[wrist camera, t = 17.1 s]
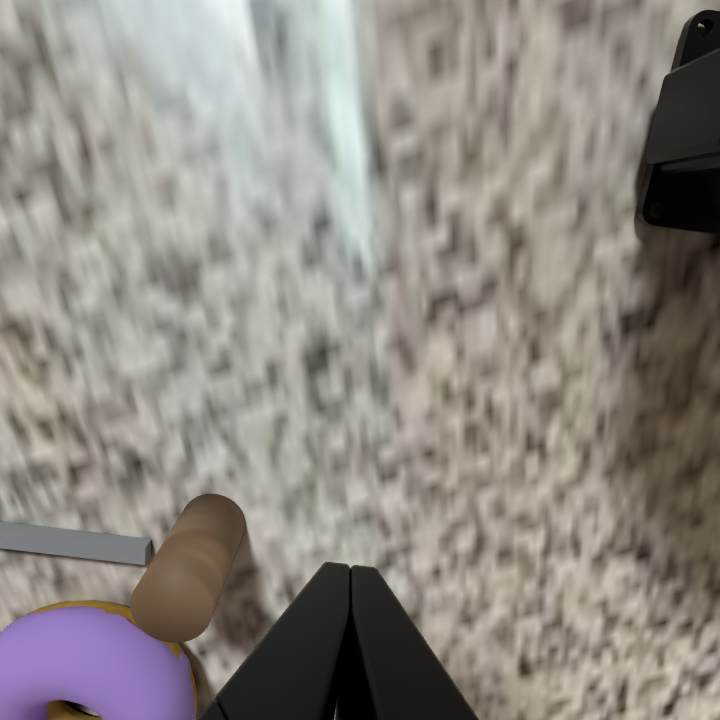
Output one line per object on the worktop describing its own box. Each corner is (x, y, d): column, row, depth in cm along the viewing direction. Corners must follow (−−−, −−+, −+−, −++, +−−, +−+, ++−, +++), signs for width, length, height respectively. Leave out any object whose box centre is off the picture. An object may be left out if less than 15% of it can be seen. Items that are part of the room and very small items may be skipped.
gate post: (247, 498, 22) (214, 578, 17) (242, 553, 22) (209, 647, 17) (183, 490, 22) (131, 568, 17) (180, 546, 22) (129, 637, 17)
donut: (56, 540, 22) (2, 642, 17) (246, 624, 25) (241, 727, 21) (-59, 693, 24) (-133, 819, 20) (131, 752, 27) (104, 871, 23)
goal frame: (151, 539, 22) (145, 548, 22) (141, 823, 26) (136, 836, 26) (-106, 509, 22) (-118, 517, 21) (-76, 800, 26) (-86, 813, 25)
